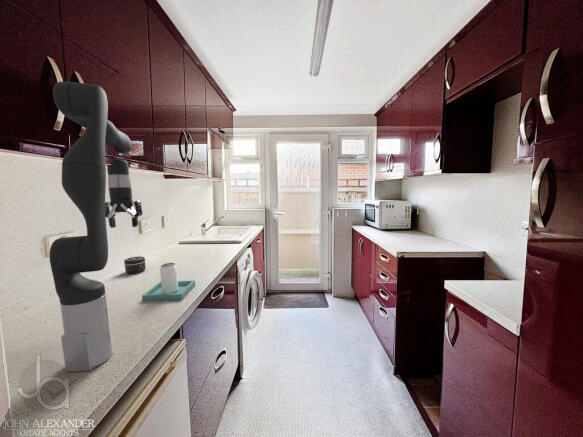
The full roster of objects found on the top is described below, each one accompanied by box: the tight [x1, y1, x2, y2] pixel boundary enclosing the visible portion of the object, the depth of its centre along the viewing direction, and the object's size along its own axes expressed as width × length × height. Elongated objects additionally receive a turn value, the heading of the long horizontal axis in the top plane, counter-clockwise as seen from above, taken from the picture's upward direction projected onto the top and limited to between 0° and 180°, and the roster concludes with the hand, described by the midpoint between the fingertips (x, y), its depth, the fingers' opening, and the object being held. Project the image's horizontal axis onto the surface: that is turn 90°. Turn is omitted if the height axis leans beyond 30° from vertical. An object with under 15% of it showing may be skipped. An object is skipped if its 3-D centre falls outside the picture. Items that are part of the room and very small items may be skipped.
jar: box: [123, 255, 146, 275], centre depth 146 cm, size 10×10×8 cm
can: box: [159, 262, 179, 294], centre depth 114 cm, size 6×6×12 cm
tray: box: [141, 279, 196, 302], centre depth 114 cm, size 16×16×2 cm
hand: (124, 227), depth 106 cm, fingers open, 8 cm apart
